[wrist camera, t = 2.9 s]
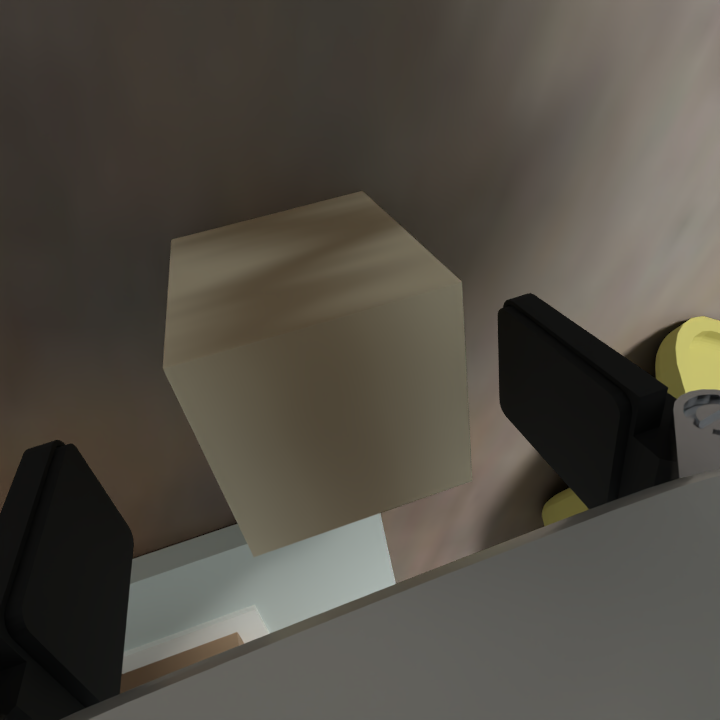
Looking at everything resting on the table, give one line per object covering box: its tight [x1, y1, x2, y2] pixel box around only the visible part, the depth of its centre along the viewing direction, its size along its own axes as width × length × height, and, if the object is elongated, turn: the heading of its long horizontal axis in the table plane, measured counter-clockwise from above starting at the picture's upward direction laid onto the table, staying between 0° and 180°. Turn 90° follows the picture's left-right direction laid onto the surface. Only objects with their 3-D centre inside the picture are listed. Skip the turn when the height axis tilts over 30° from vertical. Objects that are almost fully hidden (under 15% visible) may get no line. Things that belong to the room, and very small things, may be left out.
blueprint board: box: [122, 513, 396, 674], centre depth 21 cm, size 20×14×1 cm
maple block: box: [163, 191, 472, 557], centre depth 12 cm, size 5×5×6 cm
